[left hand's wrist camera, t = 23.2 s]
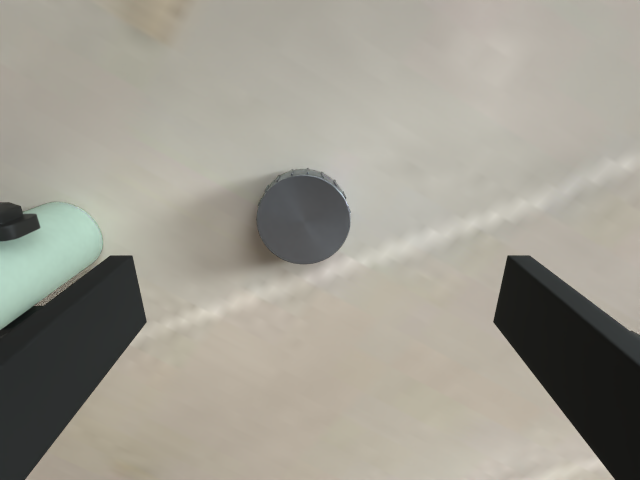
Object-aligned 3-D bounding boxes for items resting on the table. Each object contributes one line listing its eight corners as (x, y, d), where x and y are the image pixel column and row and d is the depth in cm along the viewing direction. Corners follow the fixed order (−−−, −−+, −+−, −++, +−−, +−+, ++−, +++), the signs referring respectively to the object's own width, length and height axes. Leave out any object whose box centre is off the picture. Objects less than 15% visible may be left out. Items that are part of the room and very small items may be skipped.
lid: (261, 163, 23) (256, 169, 21) (353, 171, 23) (357, 178, 21) (258, 249, 25) (254, 261, 23) (342, 255, 25) (345, 268, 23)
